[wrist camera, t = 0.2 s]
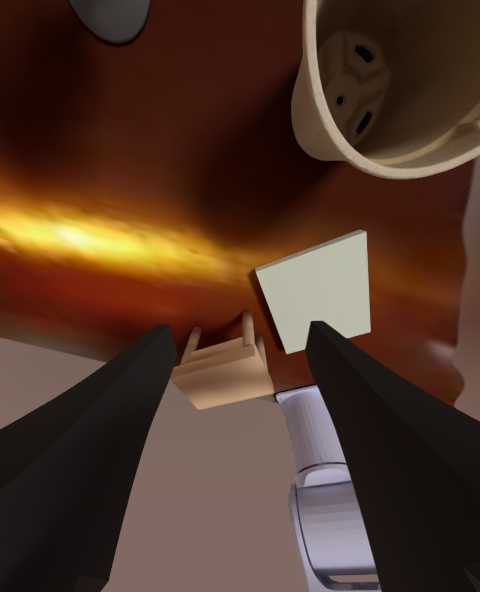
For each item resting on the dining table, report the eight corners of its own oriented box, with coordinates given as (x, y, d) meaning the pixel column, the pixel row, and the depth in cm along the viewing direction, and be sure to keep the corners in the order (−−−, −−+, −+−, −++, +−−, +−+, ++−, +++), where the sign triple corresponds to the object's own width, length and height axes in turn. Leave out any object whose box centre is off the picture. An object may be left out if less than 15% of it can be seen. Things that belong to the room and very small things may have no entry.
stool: (265, 340, 23) (274, 393, 17) (209, 356, 24) (198, 409, 18) (250, 307, 20) (255, 355, 14) (189, 327, 22) (169, 378, 16)
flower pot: (376, 188, 15) (521, 181, 7) (261, 185, 14) (283, 176, 7) (444, -10, 10) (1095, -662, 2) (275, -15, 10) (388, -702, 2)
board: (365, 326, 22) (370, 331, 21) (284, 348, 23) (286, 353, 23) (359, 229, 16) (366, 231, 15) (254, 268, 18) (255, 271, 17)
